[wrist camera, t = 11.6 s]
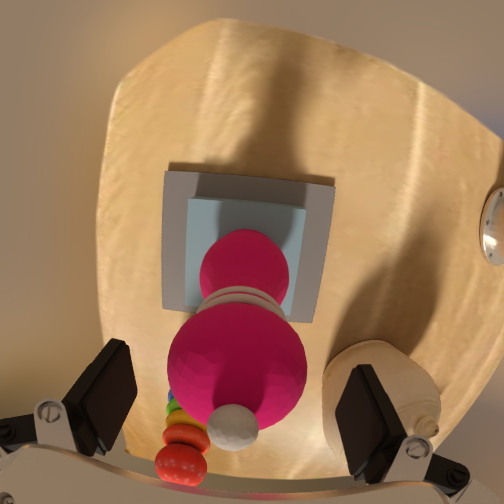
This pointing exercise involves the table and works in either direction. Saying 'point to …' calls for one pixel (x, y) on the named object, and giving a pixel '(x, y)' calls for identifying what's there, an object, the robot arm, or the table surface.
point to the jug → (394, 383)
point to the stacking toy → (182, 447)
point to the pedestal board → (253, 191)
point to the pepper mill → (239, 343)
